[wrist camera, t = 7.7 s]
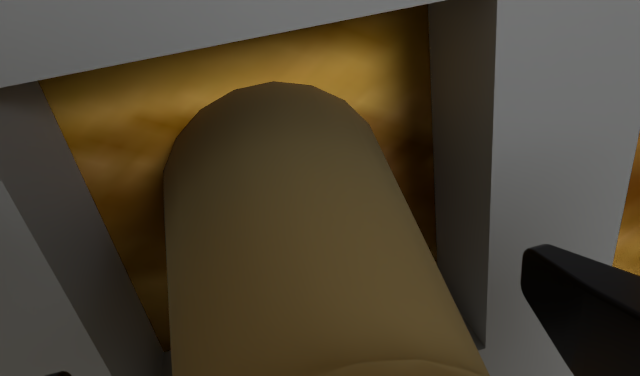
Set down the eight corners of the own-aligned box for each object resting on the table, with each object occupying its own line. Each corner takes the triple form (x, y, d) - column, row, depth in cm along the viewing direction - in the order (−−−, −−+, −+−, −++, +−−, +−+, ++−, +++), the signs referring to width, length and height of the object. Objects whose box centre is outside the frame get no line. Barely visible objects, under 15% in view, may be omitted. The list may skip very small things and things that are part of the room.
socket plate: (582, -234, 9) (730, -315, 6) (527, 327, 17) (585, 395, 14) (-288, -110, 7) (-568, -150, 5) (93, 451, 15) (66, 554, 12)
